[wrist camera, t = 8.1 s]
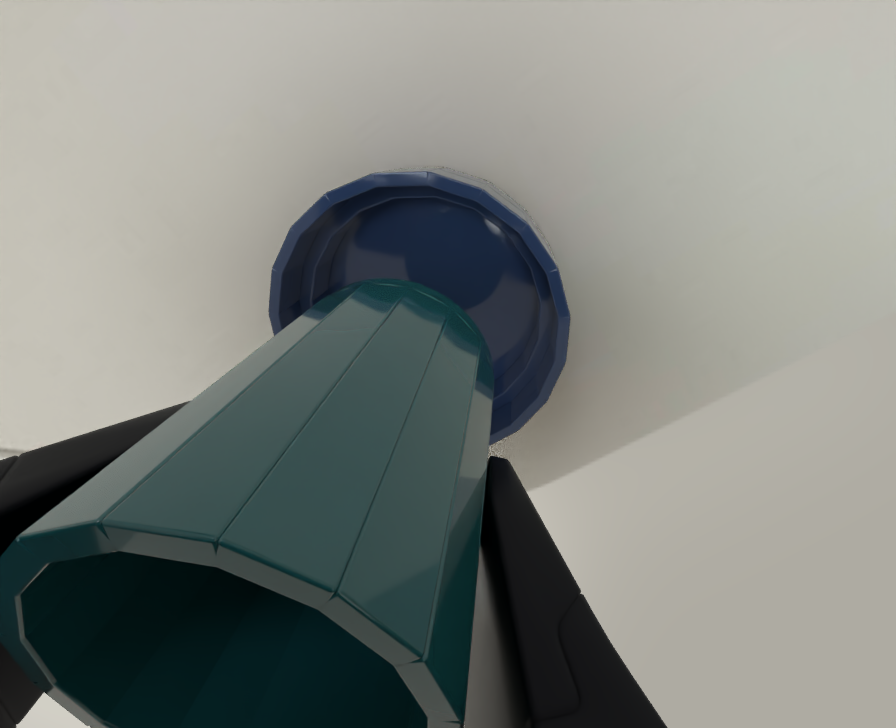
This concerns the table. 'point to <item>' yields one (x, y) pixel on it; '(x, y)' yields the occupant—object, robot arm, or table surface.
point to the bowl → (439, 269)
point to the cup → (278, 537)
